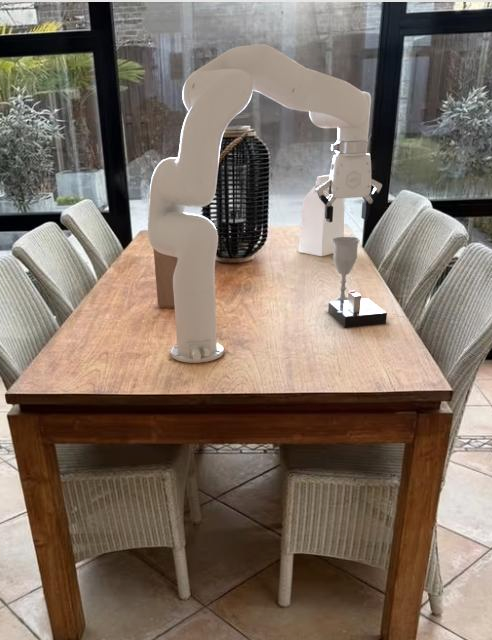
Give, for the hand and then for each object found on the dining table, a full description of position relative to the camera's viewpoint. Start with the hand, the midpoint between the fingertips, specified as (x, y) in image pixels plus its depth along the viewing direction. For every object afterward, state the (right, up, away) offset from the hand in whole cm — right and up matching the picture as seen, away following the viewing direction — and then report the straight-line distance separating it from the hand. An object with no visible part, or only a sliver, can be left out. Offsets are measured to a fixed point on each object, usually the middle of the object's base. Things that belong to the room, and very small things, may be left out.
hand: (346, 220), depth 173 cm
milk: (+7, +16, +72) cm, 74 cm away
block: (-45, -17, +22) cm, 53 cm away
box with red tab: (+1, -25, -3) cm, 25 cm away
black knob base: (+3, -26, +1) cm, 26 cm away
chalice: (+1, -20, +12) cm, 23 cm away
